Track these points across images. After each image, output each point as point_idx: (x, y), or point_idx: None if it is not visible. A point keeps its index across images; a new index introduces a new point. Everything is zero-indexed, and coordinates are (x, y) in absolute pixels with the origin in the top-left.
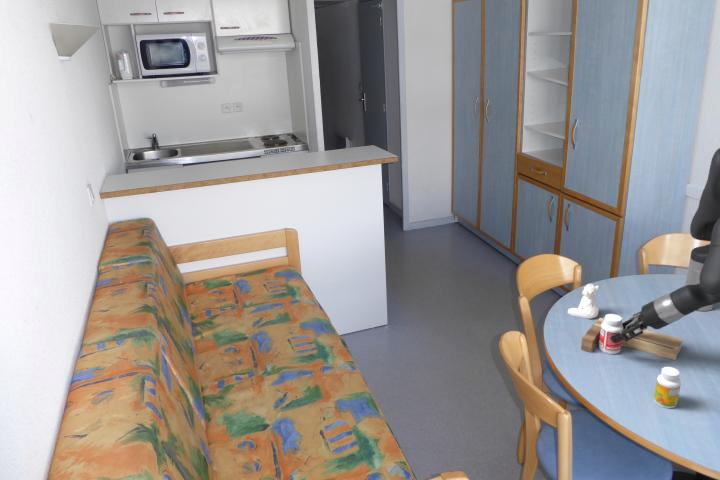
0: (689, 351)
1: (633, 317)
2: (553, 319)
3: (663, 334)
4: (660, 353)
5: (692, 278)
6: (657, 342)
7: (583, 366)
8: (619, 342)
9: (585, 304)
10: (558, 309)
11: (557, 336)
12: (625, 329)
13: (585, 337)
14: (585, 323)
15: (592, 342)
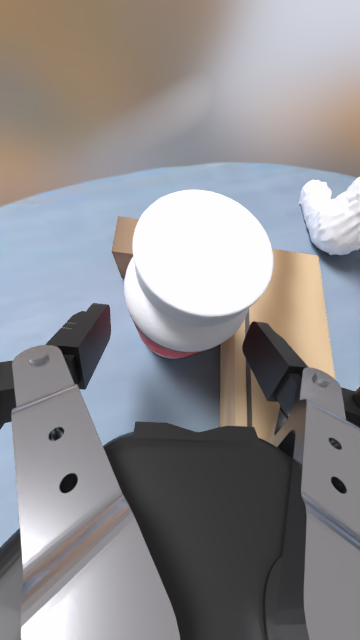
0: None
1: (302, 426)
2: (253, 167)
3: None
4: None
5: None
6: None
7: (23, 271)
8: (157, 350)
9: (355, 190)
10: (308, 172)
11: (171, 185)
12: (22, 392)
13: (132, 225)
14: (282, 238)
15: (119, 256)
